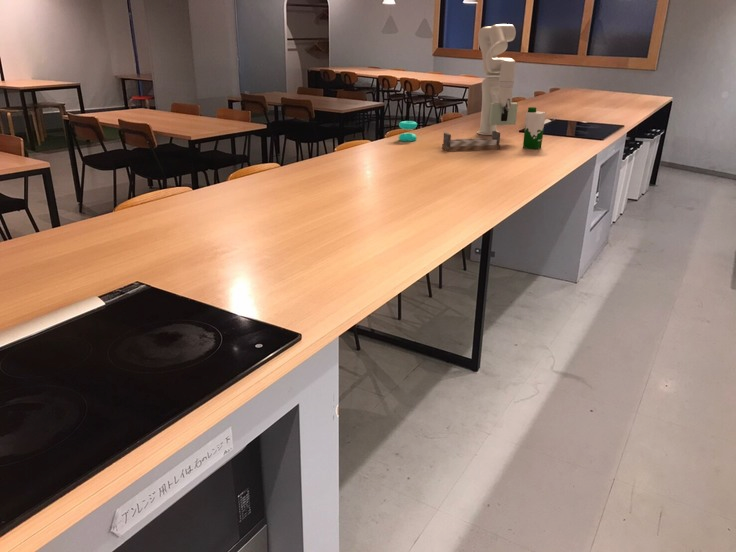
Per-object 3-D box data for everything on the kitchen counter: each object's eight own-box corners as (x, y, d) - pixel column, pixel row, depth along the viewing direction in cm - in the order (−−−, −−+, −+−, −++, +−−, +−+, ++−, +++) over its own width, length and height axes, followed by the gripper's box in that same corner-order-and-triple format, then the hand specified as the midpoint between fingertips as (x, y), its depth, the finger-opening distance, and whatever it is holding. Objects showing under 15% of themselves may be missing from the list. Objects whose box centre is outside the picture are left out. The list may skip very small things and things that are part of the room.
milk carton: (527, 145, 308) (531, 106, 300) (543, 147, 303) (548, 107, 295) (520, 148, 301) (524, 108, 293) (537, 150, 296) (541, 109, 288)
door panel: (490, 125, 310) (492, 104, 305) (488, 124, 313) (490, 103, 308) (515, 124, 312) (517, 103, 308) (513, 123, 315) (515, 102, 310)
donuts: (398, 123, 314) (399, 120, 324) (398, 141, 318) (399, 138, 328) (417, 123, 314) (417, 120, 323) (416, 142, 317) (416, 138, 327)
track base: (448, 151, 293) (448, 135, 290) (442, 147, 302) (442, 132, 299) (500, 149, 298) (501, 133, 295) (492, 145, 307) (494, 130, 304)
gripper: (493, 82, 310) (490, 118, 318) (505, 86, 296) (502, 123, 304) (506, 82, 312) (503, 117, 320) (519, 86, 297) (515, 122, 305)
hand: (502, 120), depth 312 cm, fingers closed on door panel, 3 cm apart
